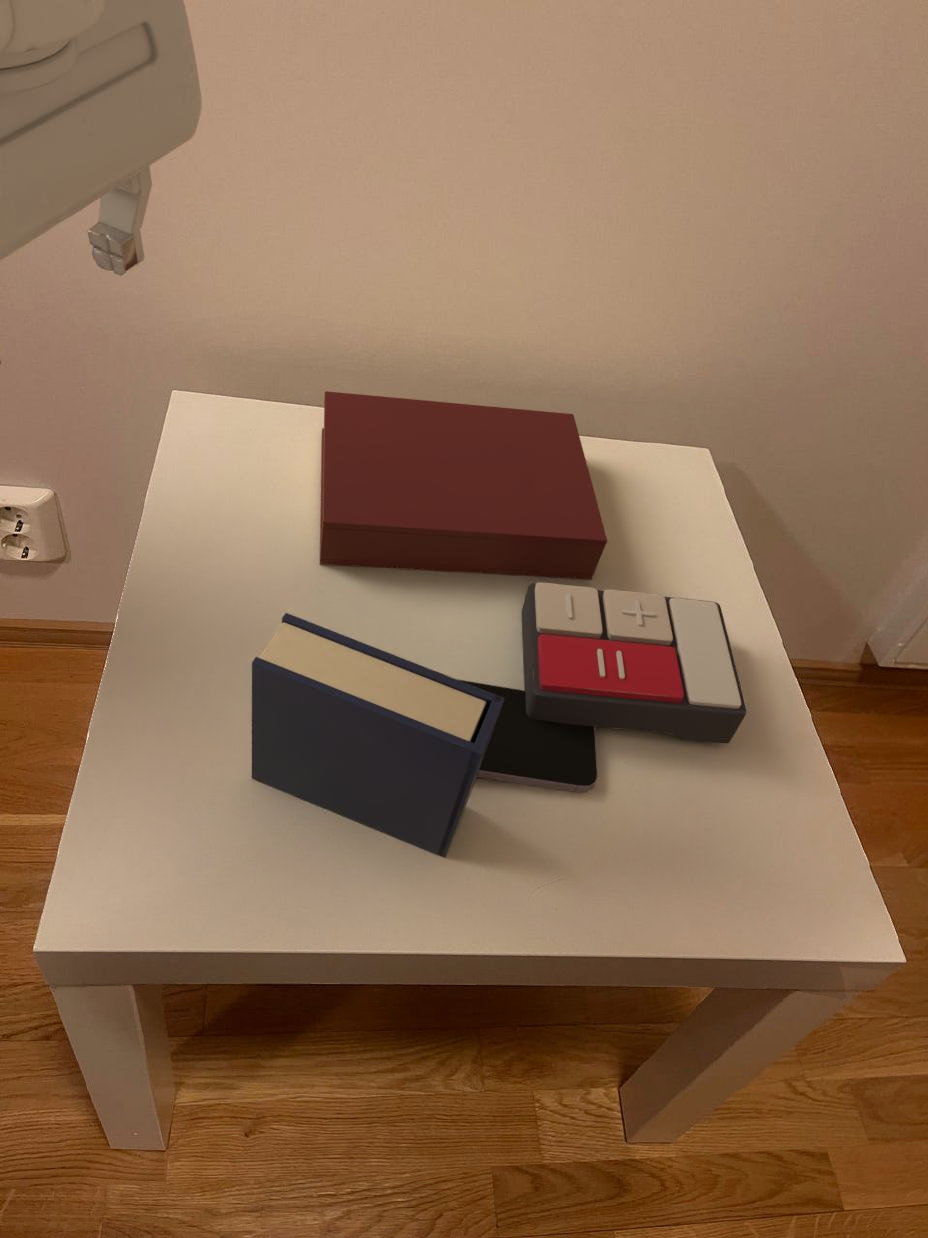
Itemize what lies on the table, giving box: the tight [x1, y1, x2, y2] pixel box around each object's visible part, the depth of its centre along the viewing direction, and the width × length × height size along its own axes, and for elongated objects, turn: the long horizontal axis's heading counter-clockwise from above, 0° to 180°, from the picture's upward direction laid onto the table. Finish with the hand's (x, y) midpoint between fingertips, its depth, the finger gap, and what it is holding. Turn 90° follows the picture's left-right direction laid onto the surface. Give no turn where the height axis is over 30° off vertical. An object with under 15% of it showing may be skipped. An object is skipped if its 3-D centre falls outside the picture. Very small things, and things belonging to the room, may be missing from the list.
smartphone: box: [456, 678, 599, 793], centre depth 62 cm, size 7×1×15 cm
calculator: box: [521, 581, 748, 745], centre depth 66 cm, size 11×4×15 cm
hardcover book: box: [251, 612, 504, 859], centre depth 53 cm, size 4×13×12 cm, turn 71°
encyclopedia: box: [319, 390, 608, 580], centre depth 76 cm, size 22×16×4 cm
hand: (52, 314), depth 40 cm, fingers open, 8 cm apart
